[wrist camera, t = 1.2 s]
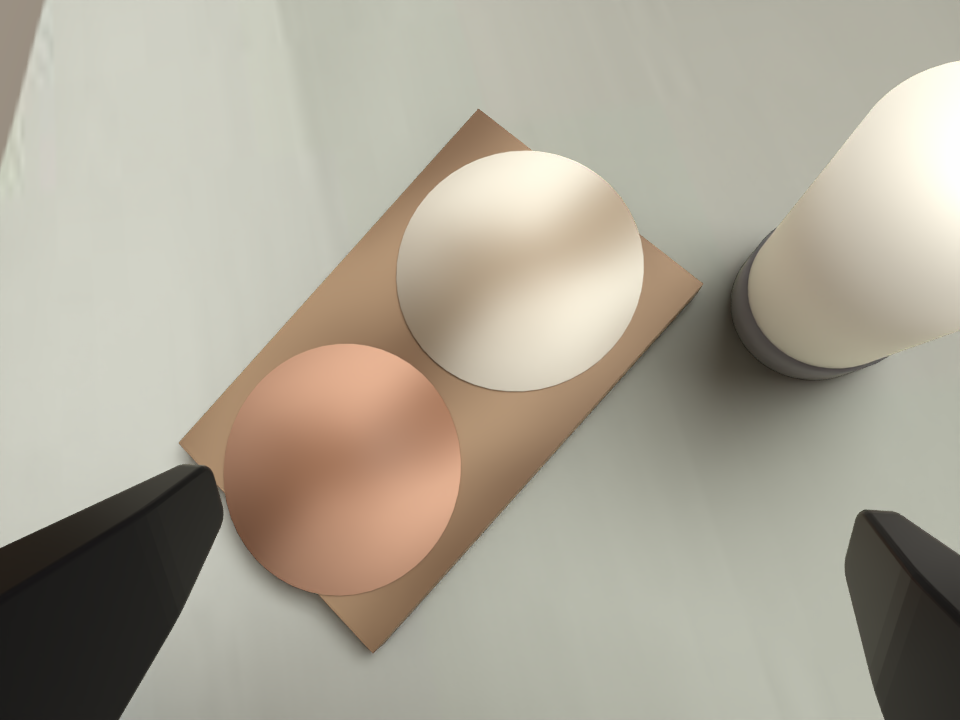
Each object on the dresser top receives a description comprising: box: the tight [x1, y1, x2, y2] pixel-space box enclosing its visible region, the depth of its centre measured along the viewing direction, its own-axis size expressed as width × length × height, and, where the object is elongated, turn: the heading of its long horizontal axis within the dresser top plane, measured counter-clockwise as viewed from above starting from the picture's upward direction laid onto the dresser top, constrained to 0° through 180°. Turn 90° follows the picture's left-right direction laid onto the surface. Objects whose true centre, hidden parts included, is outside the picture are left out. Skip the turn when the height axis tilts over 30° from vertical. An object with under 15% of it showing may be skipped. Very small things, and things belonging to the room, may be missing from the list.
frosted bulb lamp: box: [731, 61, 960, 380], centre depth 17 cm, size 5×5×10 cm
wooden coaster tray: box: [179, 109, 703, 653], centre depth 23 cm, size 10×17×1 cm, turn 138°
